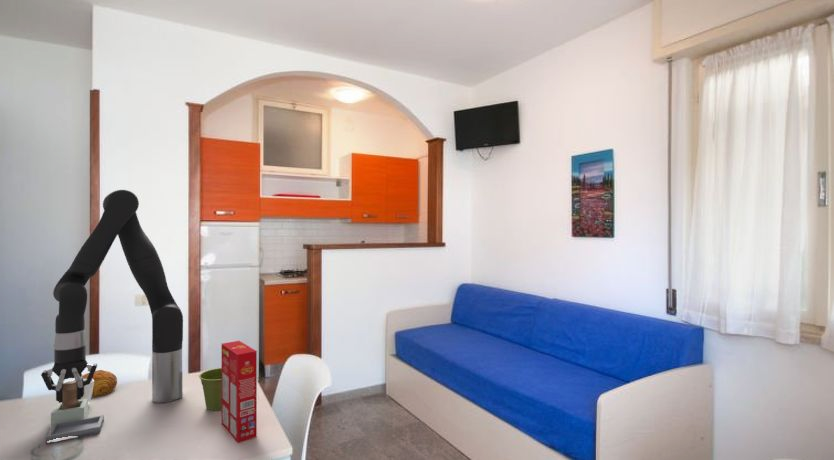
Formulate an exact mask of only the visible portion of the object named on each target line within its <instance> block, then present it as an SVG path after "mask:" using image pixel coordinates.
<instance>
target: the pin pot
mask: <svg viewBox="0 0 834 460" xmlns="http://www.w3.org/2000/svg"><path fill="white" fill-rule="evenodd" d="M88 415H89V405H88V399H82V400H79V407H76V408H70V409H64V410H62V402H61V403H59V402H58V403H56V405H55V406H54V408H53V409H52V411H51V412H50V429H51V428H52V426H53V425H54V424H56V423H62V422H67V421H73V420H78V419H84V418H88Z"/></svg>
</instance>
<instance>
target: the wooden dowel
mask: <svg viewBox="0 0 834 460" xmlns="http://www.w3.org/2000/svg"><path fill="white" fill-rule="evenodd" d="M61 403H62V410H64V409H70V408H76V407H79V400H78V384H77V382H76V381H74V380H71V381H67V382H64V383H63V384H62V402H61Z"/></svg>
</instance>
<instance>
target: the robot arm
mask: <svg viewBox="0 0 834 460" xmlns="http://www.w3.org/2000/svg"><path fill="white" fill-rule="evenodd" d="M139 206H140V201H139V198H138V196H137V195H136V194H135V193H134V192H133V191H131V190H127V189H117V190H113V191H112V192H110V193H108V194H107V195H106V196H105V197H104V200H103V203H102V207H103V213H102V215H101V217H100V219H99V221H98V224H97V225H96V227H95V228H94V230H93V231H92V232H91V234H90V235H89V236H88V238H86V240H85V242H84V243H83V245H81V248H80V249H79V250H78V253H77V254H76V255H75V258H74V260H73V261H72V263H71V265H70V266H69V268H68V269H67V271H66V272H64V274H63V275H62V276H61V278H59V280H58V281H57V283H56V284H55V286H54V288H53V293H52V294H53V298H54V299H55V300H56V301H57V302H58V314H57V315H56V317H55V321H54V322H55V325H54V326H55V335H54V338H53V339H54V342H53V343H54V344H53V348H54V349H53V351H54V356H53V357H54V360H53V361H54V362H53V366H52V368H50V369H46V370H43V371H42V373H41V374H40V376H41V377H42V380H43V382H44V384H45V386H46V388H47V390H48V391H55V401H56V402H58V403H62V384H63V383H65V380H68V379H74V380H76V382H77V384H78V400H79V399H81V397H83V395H84V386H85V385H88V384H90V382H91V380H92V378H93V375H94V373H95V371H97V368H98V364H97V363H88V361H87V359H86V358H87V357H86V355H87V354H86V352H87V351H86V347H87V345H86V343H87V342H86V341H87V339H86V331H85V329H86V327H85V326H86V325H85V314H86V313H85V312H86V310H87V304H88V290H87V288H86V285H87V283H88V282H89V280H90V279H91V278H93V277H94V276H95V275H96V274H97V273H98V271H99V269H100V267H101V265H102V264H103V262H104V260H105V258H106V257H107V255H108V253H109V252H110V251H109V250H110V249H111V247H112V245H113V243H114V242H115V240H116V238H117V236H118V240H119V242H120V245H121V249H122V251H123V254H124V257H125V259H126V263H127V264H128V267H129V269H130V272H131V274H132V276H133V277H134V281H136V283H137V284H138V286H139V288H140V289H141V290H142V292H143V294H144V296H145V297H146V300H147V303H148V306H149V309H150V313H151V314H150V315H151V320H152V321H151V322H152V323H151V324H152V325H151V328H152V333H151V334H152V335H151V339H152V341H151V351H152V352H151V357H152V358H151V359H152V360H151V372H152V373H151V374H152V375H151V377H152V378H151V380H152V381H151V390H152V391H151V400H152V402H154V403H158V404H159V403H168V402H173V401H176V400H178V399H182V398H183V341H184V316H183V313H182V312H183V311H182V310H181V308H180V307H179V306H178V304H177V302H176V300H175V299H174V297H173V295H172V293H171V290H170V289H169V285H168V283H167V278H166V273H165V270H164V266H163V264H162V261H161V258H160V256H159V253H158V251H157V250H156V248H155V246H154V244H153V242H152V241H151V240H150V238H149V237H148V236H147V234H146V233H145V231H144V230H143V228H142V226H141V224H140V222H139V221H140V220H139V217H138V214H137V211H138V208H139ZM86 368H87V371H88V373H89V375H88V378H87V380H85V381H84V380H83V374H82V373H83V372H84V370H86ZM53 373H54V374H55V375H56V376H57V377H58V380H57V382H56V384H55V382H54V381H53V378H52V376H53Z"/></svg>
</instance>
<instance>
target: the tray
mask: <svg viewBox="0 0 834 460" xmlns="http://www.w3.org/2000/svg"><path fill="white" fill-rule="evenodd" d="M104 423H105V415H104V414H101V415H96V416H89V417H87V418H84V419H78V420H73V421H67V422H62V423H56V424H54V425H53V426H52V428H51V427H50V430H49V432H48V433H47V434H46V437H45V442H46V441H49V440H53V439H56V438H62V437H68V436H78V437H80V438H83V437H84V438H85V437H89V436H94V435H99V434H101V431H102V428H103V424H104Z"/></svg>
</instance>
